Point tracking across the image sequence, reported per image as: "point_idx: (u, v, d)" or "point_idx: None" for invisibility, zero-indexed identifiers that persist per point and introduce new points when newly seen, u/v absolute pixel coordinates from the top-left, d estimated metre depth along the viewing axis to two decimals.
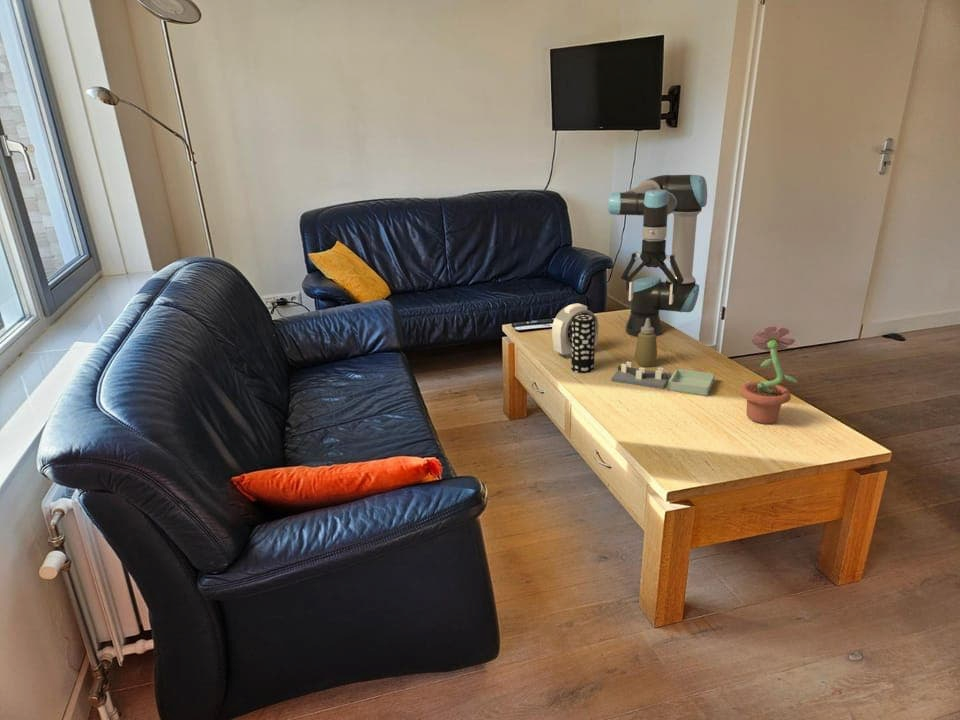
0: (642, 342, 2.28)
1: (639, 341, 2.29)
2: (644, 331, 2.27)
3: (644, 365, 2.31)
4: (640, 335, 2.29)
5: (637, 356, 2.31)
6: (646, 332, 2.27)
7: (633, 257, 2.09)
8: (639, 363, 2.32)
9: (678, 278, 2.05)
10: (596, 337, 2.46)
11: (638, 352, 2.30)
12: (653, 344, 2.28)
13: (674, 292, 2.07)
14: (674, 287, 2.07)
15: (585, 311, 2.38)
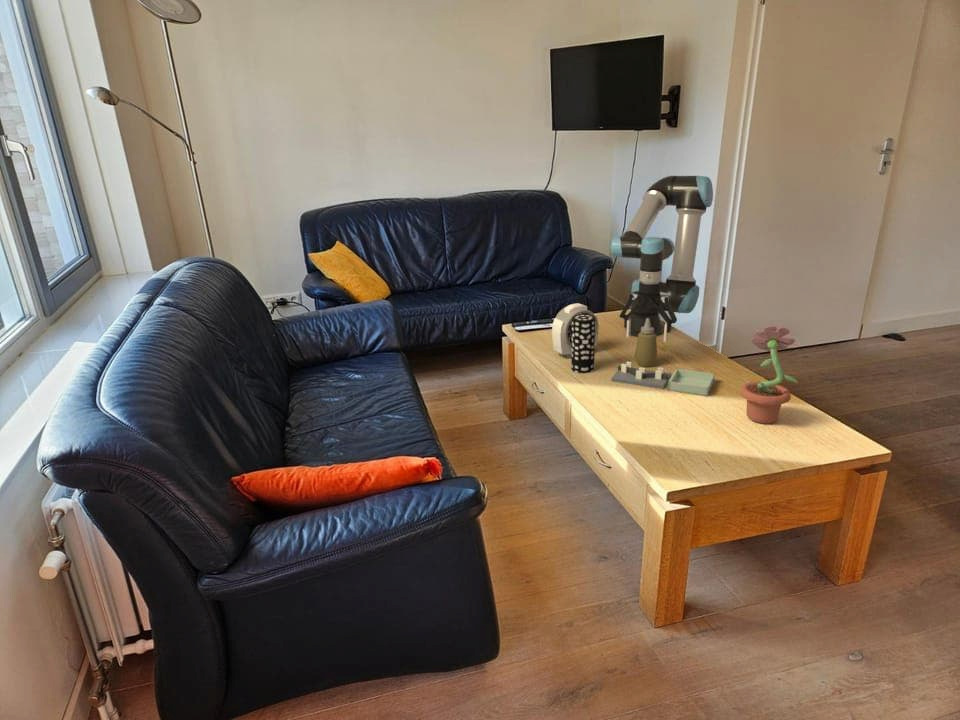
0: (642, 342, 2.28)
1: (639, 341, 2.29)
2: (644, 331, 2.27)
3: (644, 365, 2.31)
4: (640, 335, 2.29)
5: (637, 356, 2.31)
6: (646, 332, 2.27)
7: (631, 298, 2.27)
8: (639, 363, 2.32)
9: (672, 318, 2.22)
10: (596, 337, 2.46)
11: (638, 352, 2.30)
12: (653, 344, 2.28)
13: (668, 330, 2.25)
14: (668, 326, 2.24)
15: (585, 311, 2.38)
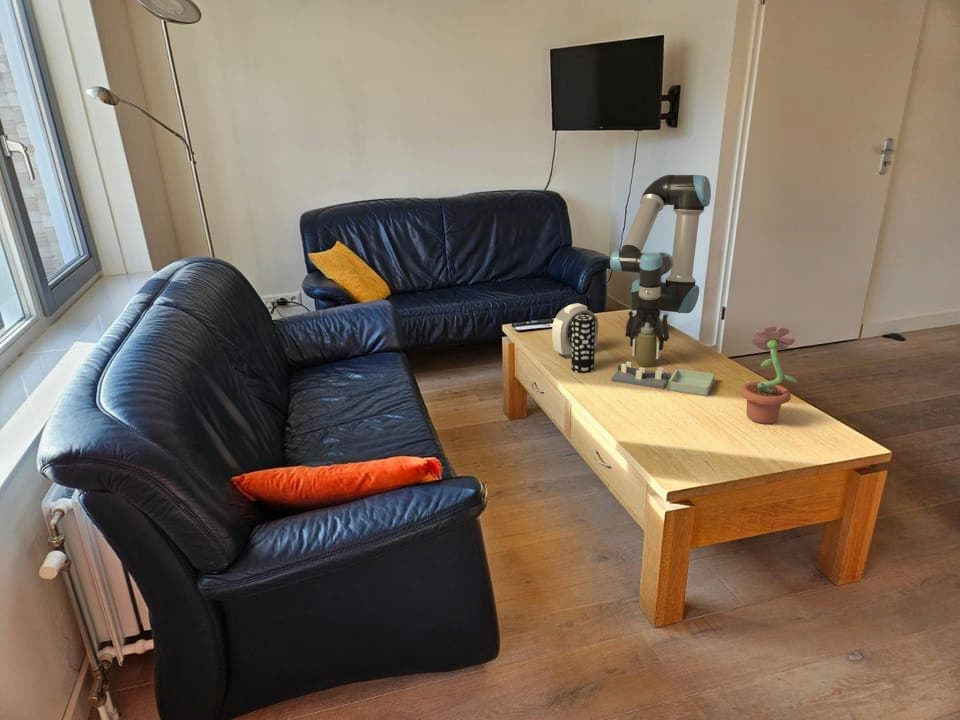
0: (642, 342, 2.28)
1: (639, 341, 2.29)
2: (644, 331, 2.27)
3: (644, 365, 2.31)
4: (640, 335, 2.29)
5: (637, 356, 2.31)
6: (646, 332, 2.27)
7: (631, 315, 2.29)
8: (639, 363, 2.32)
9: (665, 336, 2.26)
10: (596, 337, 2.46)
11: (638, 352, 2.30)
12: (653, 344, 2.28)
13: (660, 348, 2.28)
14: (660, 344, 2.28)
15: (585, 311, 2.38)
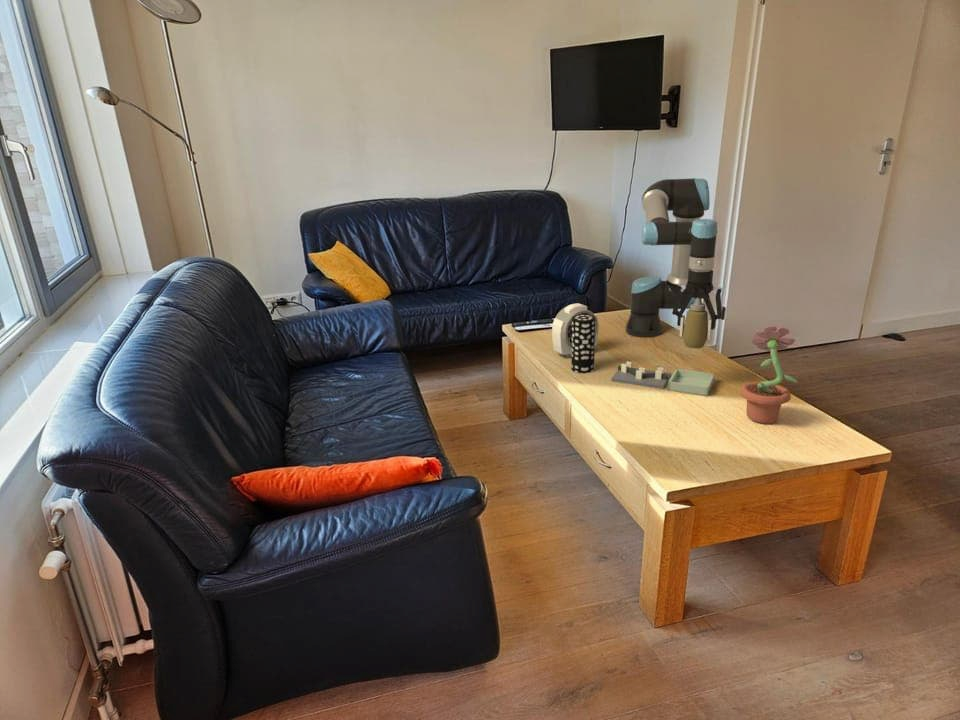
0: (692, 320, 2.03)
1: (688, 319, 2.04)
2: (694, 308, 2.02)
3: (694, 346, 2.06)
4: (689, 312, 2.03)
5: (686, 336, 2.06)
6: (697, 309, 2.02)
7: (679, 290, 2.04)
8: (688, 344, 2.07)
9: (718, 313, 2.00)
10: (596, 337, 2.46)
11: (687, 332, 2.05)
12: (704, 323, 2.03)
13: (712, 327, 2.03)
14: (713, 322, 2.03)
15: (585, 311, 2.38)
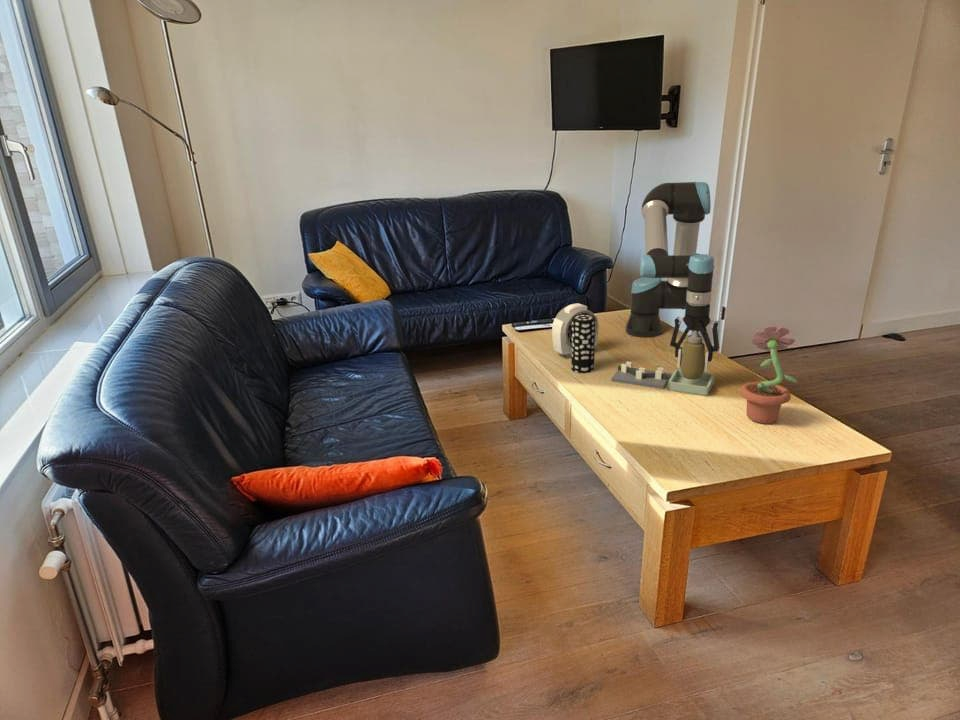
0: (689, 352, 2.07)
1: (686, 351, 2.08)
2: (692, 340, 2.06)
3: (691, 377, 2.10)
4: (687, 345, 2.07)
5: (683, 368, 2.10)
6: (694, 341, 2.06)
7: (676, 323, 2.08)
8: (685, 375, 2.11)
9: (715, 346, 2.04)
10: (596, 337, 2.46)
11: (684, 363, 2.09)
12: (701, 355, 2.07)
13: (709, 359, 2.07)
14: (710, 354, 2.07)
15: (585, 311, 2.38)
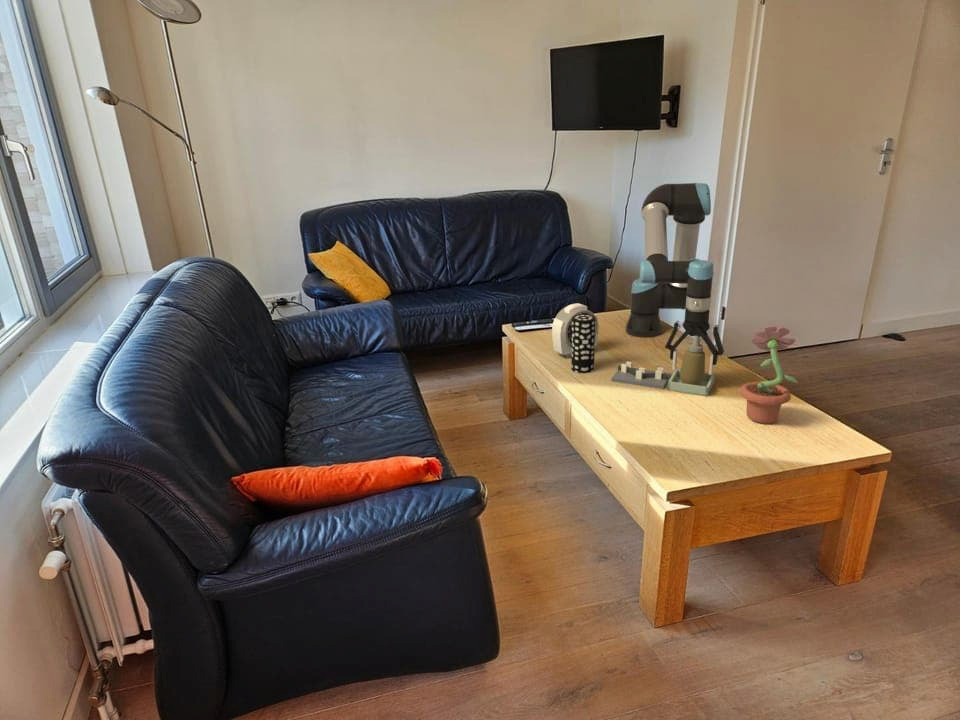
0: (690, 361, 2.07)
1: (686, 360, 2.09)
2: (692, 349, 2.07)
3: None
4: (687, 353, 2.08)
5: (683, 376, 2.11)
6: (695, 351, 2.06)
7: (676, 326, 2.08)
8: (684, 383, 2.12)
9: (719, 349, 2.04)
10: (596, 337, 2.46)
11: (684, 372, 2.10)
12: (701, 364, 2.07)
13: (714, 363, 2.07)
14: (714, 358, 2.06)
15: (585, 311, 2.38)
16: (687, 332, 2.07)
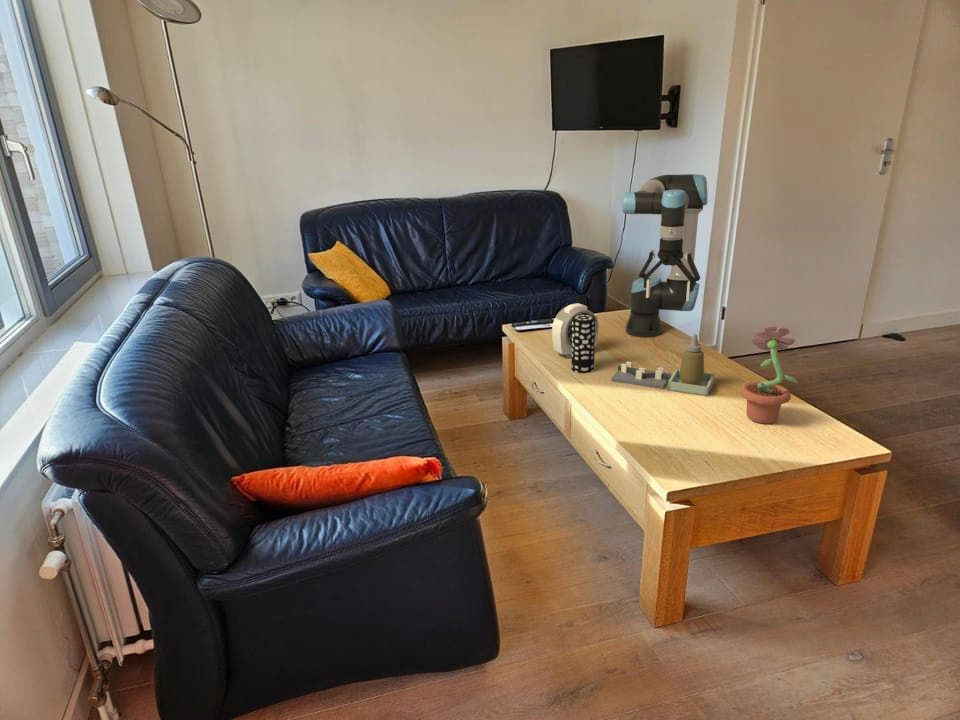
0: (689, 361, 2.08)
1: (685, 360, 2.09)
2: (691, 349, 2.07)
3: None
4: (686, 353, 2.09)
5: (682, 376, 2.11)
6: (693, 350, 2.07)
7: (651, 255, 2.14)
8: None
9: (695, 276, 2.10)
10: (596, 337, 2.46)
11: (683, 372, 2.10)
12: (700, 363, 2.08)
13: (691, 289, 2.13)
14: (691, 284, 2.12)
15: (585, 311, 2.38)
16: (661, 261, 2.13)
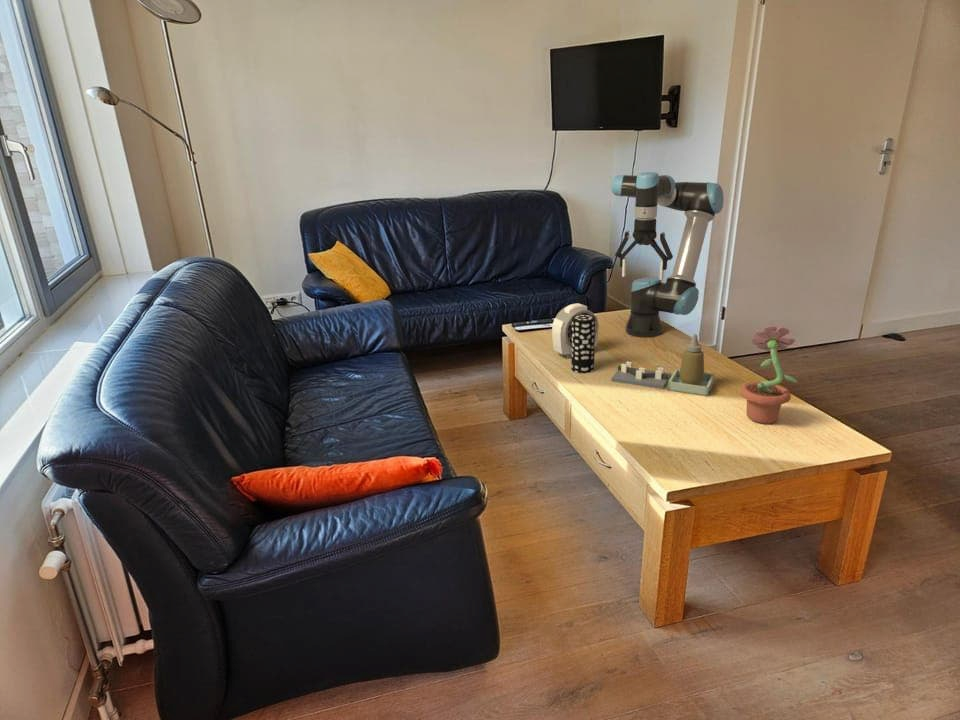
0: (689, 361, 2.08)
1: (685, 360, 2.09)
2: (691, 349, 2.07)
3: None
4: (686, 353, 2.09)
5: (682, 376, 2.11)
6: (693, 350, 2.07)
7: (626, 235, 2.25)
8: None
9: (668, 255, 2.20)
10: (596, 337, 2.46)
11: (683, 372, 2.10)
12: (700, 363, 2.08)
13: (664, 268, 2.23)
14: (664, 263, 2.22)
15: (585, 311, 2.38)
16: (636, 241, 2.23)
